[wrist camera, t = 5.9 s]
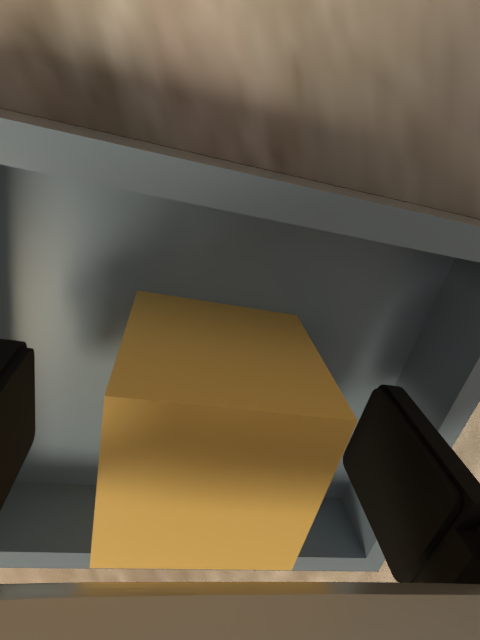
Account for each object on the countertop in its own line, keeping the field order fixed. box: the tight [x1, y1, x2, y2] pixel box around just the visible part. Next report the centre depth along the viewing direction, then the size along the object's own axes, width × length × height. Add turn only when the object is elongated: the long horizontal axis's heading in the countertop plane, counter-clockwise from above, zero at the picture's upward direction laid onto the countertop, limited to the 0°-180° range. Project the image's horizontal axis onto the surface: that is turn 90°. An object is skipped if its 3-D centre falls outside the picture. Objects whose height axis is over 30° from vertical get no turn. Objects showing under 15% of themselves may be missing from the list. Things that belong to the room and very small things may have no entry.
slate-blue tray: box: [0, 108, 480, 572], centre depth 12 cm, size 13×16×3 cm
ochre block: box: [90, 291, 358, 570], centre depth 11 cm, size 5×5×5 cm
